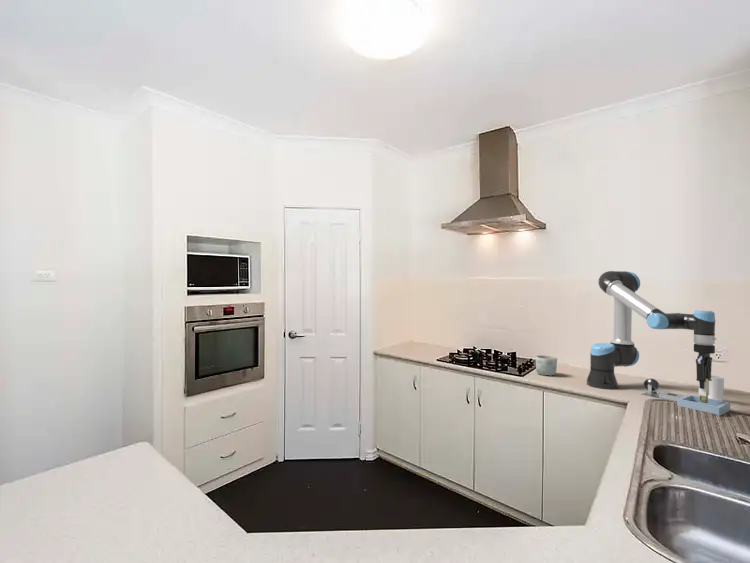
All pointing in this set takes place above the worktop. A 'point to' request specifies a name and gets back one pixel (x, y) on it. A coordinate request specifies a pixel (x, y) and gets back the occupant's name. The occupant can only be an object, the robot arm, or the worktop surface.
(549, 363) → the planter
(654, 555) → the worktop surface
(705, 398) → the pin
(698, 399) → the tray
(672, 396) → the tensioner
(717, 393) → the mug
